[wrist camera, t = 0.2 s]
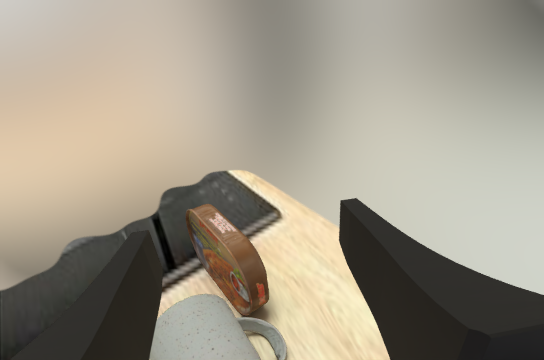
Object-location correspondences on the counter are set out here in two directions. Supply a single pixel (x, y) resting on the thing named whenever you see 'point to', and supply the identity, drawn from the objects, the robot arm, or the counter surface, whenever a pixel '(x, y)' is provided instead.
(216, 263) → the tin
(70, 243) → the counter surface
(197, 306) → the ceramic mug
